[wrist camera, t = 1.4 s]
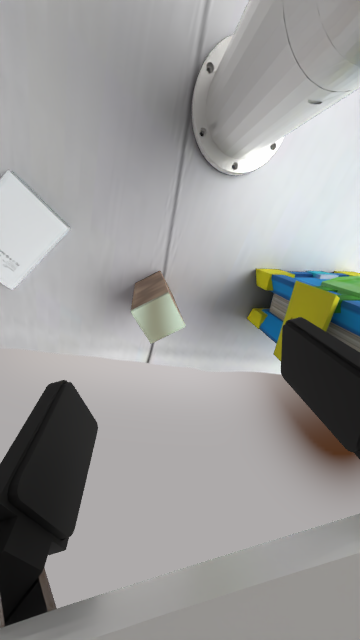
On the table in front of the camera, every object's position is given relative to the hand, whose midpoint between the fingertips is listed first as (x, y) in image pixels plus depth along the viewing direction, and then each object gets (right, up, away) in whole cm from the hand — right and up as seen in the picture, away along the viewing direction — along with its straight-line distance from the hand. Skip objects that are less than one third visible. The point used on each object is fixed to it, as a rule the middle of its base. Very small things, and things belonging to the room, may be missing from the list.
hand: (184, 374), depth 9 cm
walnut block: (-4, +7, +24) cm, 25 cm away
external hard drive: (-22, +14, +18) cm, 32 cm away
